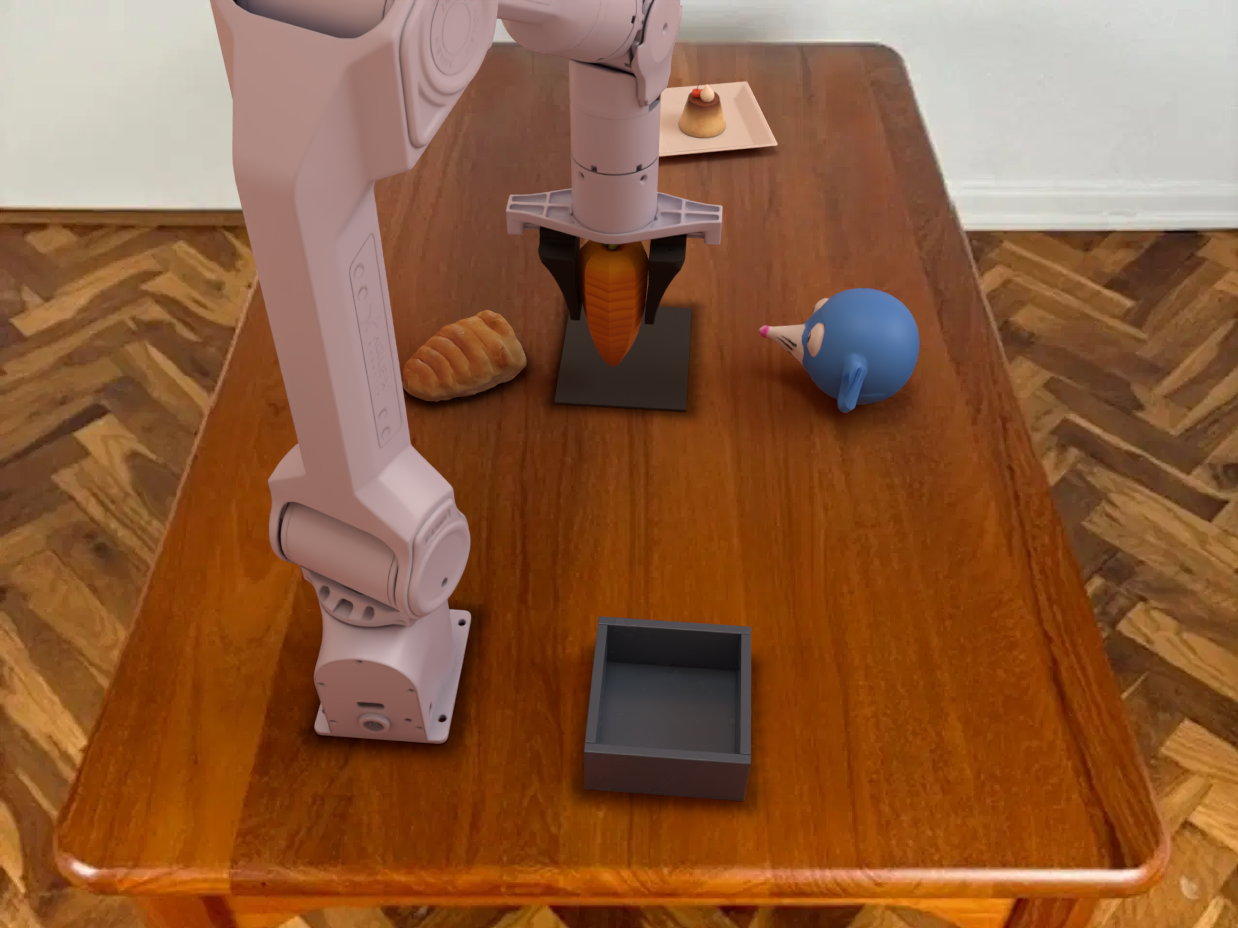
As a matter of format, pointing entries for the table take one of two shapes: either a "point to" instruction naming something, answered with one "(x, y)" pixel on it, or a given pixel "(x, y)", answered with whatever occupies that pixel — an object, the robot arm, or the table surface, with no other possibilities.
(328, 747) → the table surface
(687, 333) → the mat
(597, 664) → the bin
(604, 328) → the carrot
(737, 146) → the dessert
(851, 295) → the blue mole toy
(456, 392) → the pastry
